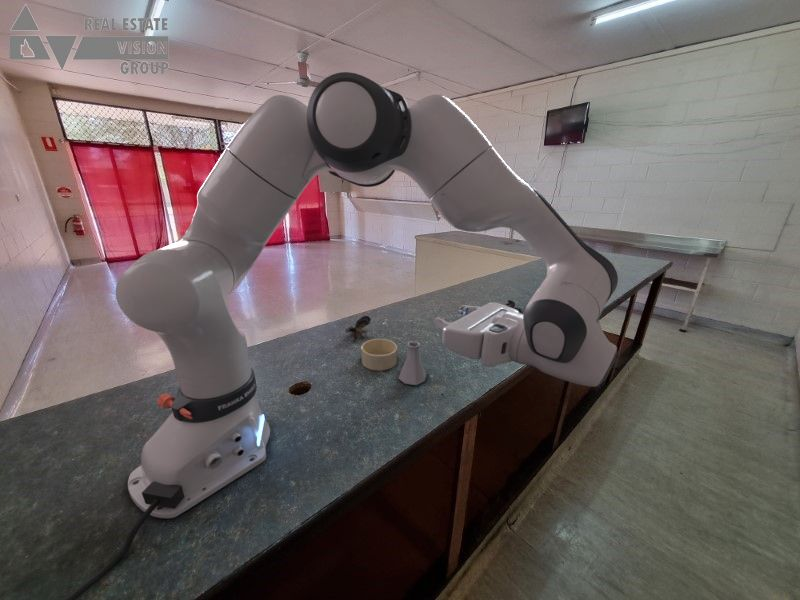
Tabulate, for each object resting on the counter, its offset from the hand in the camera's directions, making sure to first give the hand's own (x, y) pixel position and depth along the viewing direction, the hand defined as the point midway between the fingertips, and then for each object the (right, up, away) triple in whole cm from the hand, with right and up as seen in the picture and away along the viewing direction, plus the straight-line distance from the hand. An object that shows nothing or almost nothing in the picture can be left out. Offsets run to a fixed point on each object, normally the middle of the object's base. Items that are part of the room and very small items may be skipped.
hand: (448, 314), depth 67 cm
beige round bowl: (-16, -14, +23) cm, 31 cm away
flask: (-7, -18, +16) cm, 25 cm away
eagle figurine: (-24, -9, +37) cm, 45 cm away
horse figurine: (+32, -3, +57) cm, 65 cm away
